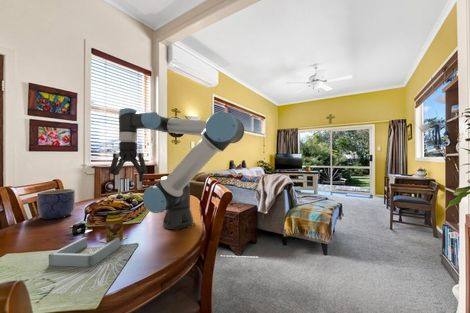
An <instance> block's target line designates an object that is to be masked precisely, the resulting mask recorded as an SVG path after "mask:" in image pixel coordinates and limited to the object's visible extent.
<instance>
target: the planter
mask: <svg viewBox="0 0 470 313" xmlns="http://www.w3.org/2000/svg"><path fill="white" fill-rule="evenodd" d="M36 201H37V202H36V203H37V204H36V205H37V214H38V216H40V217H41V218H42V219H45V220H54V219H53V218H57V219H61V218H60V217H62V218H65V217H64V216H66V217H68V216H69V215H71V214H72V213H73V212H74V210H75V206H76V204H75V203H76V191H75V189H73V188H64V189H63V188H61V189H52V190H51V189H50V190H45V191H44V190H43V191H39V192H37V199H36Z"/></svg>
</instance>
